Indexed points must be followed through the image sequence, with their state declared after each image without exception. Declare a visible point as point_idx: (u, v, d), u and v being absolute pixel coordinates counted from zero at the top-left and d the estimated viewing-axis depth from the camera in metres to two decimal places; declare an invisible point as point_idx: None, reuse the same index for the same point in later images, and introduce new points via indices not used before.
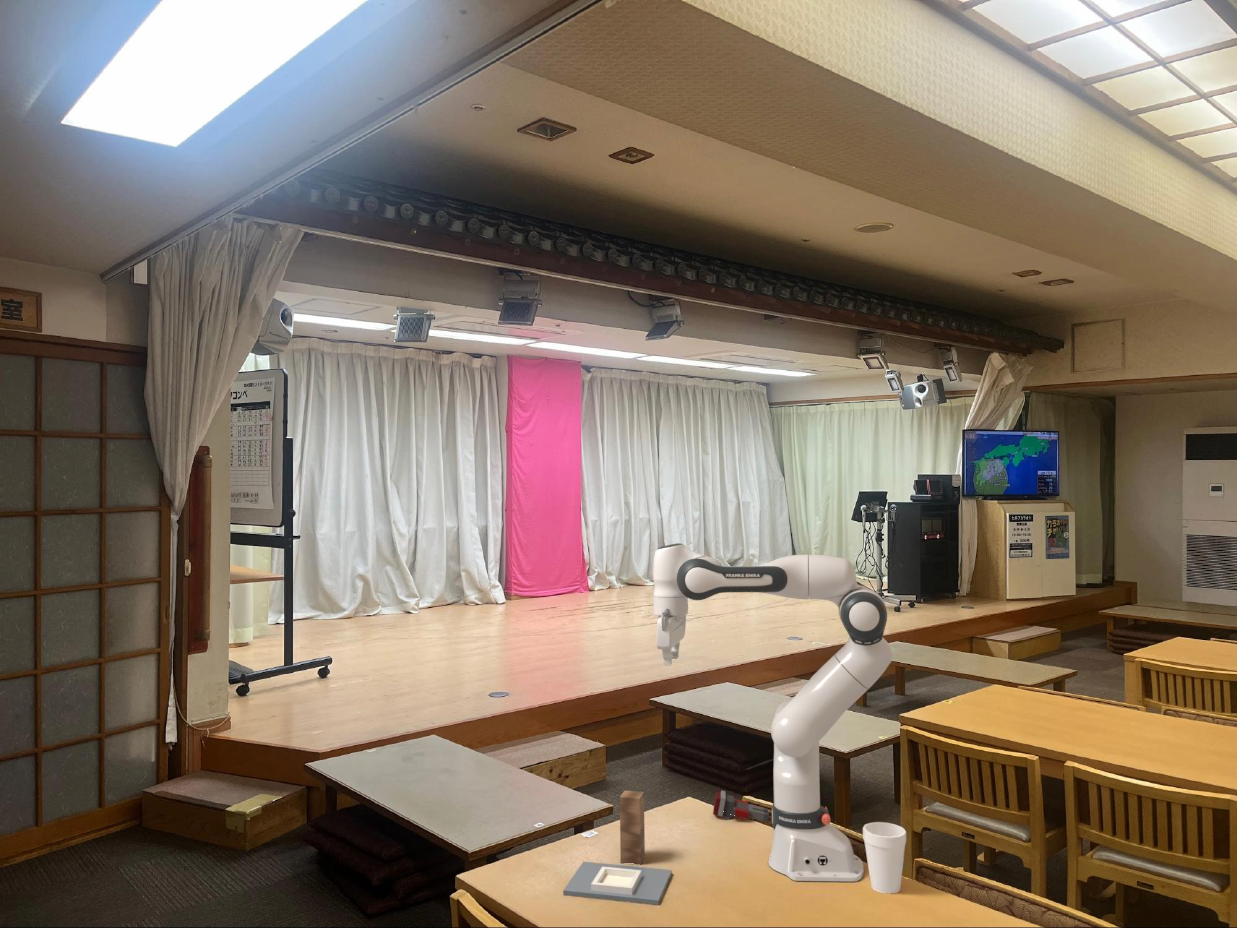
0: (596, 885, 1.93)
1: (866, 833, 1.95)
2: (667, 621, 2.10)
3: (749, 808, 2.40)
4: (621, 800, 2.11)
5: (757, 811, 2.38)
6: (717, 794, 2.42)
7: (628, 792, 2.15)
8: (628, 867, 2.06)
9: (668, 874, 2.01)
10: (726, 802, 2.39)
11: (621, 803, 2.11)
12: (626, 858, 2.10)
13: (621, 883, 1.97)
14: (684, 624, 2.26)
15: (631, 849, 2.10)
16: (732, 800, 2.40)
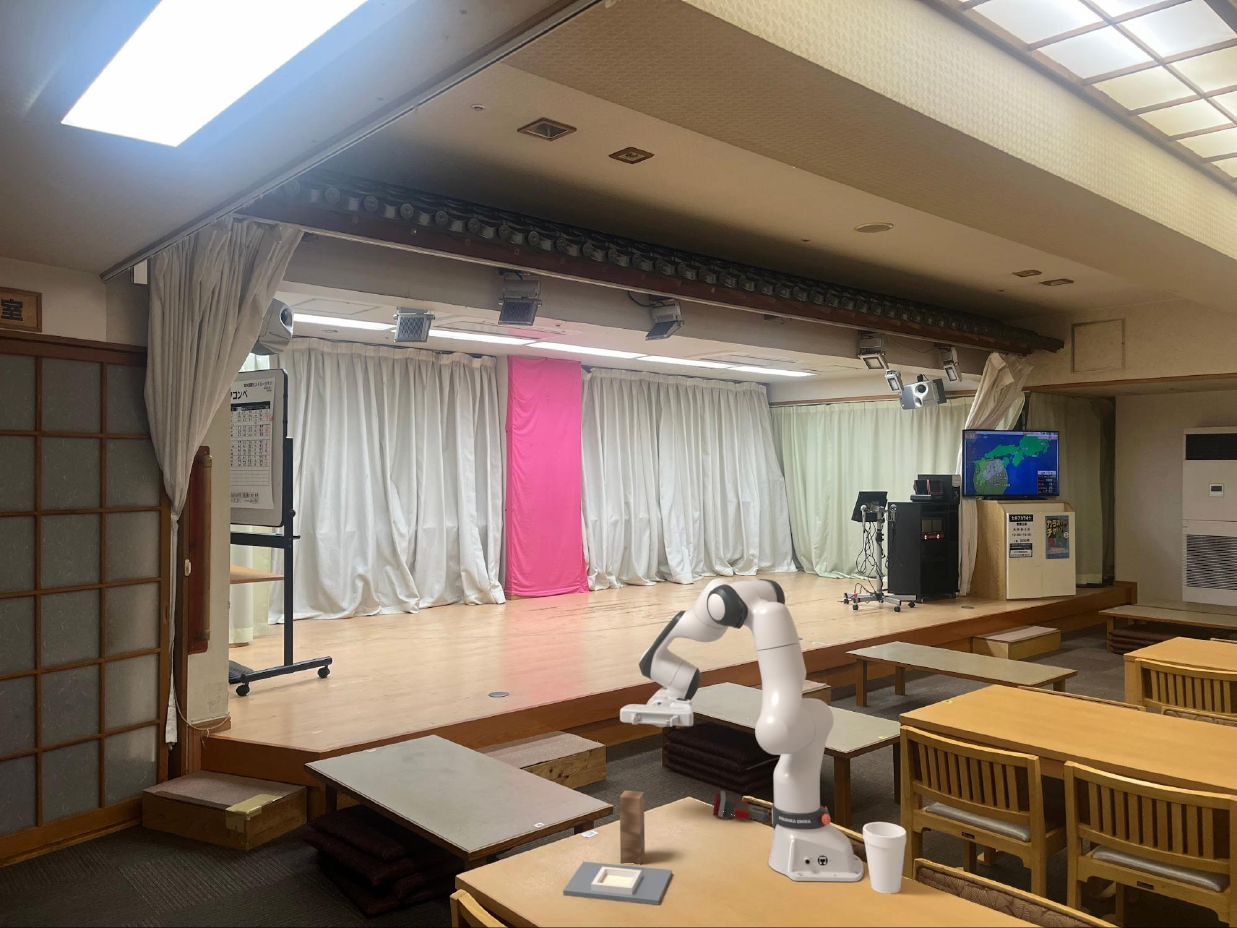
0: (596, 885, 1.93)
1: (866, 833, 1.95)
2: None
3: (749, 808, 2.40)
4: (621, 800, 2.11)
5: (757, 811, 2.38)
6: (717, 794, 2.42)
7: (628, 792, 2.15)
8: (628, 867, 2.06)
9: (668, 874, 2.01)
10: (727, 802, 2.38)
11: (621, 803, 2.11)
12: (626, 858, 2.10)
13: (621, 883, 1.97)
14: (688, 708, 2.34)
15: (631, 849, 2.10)
16: (732, 800, 2.40)
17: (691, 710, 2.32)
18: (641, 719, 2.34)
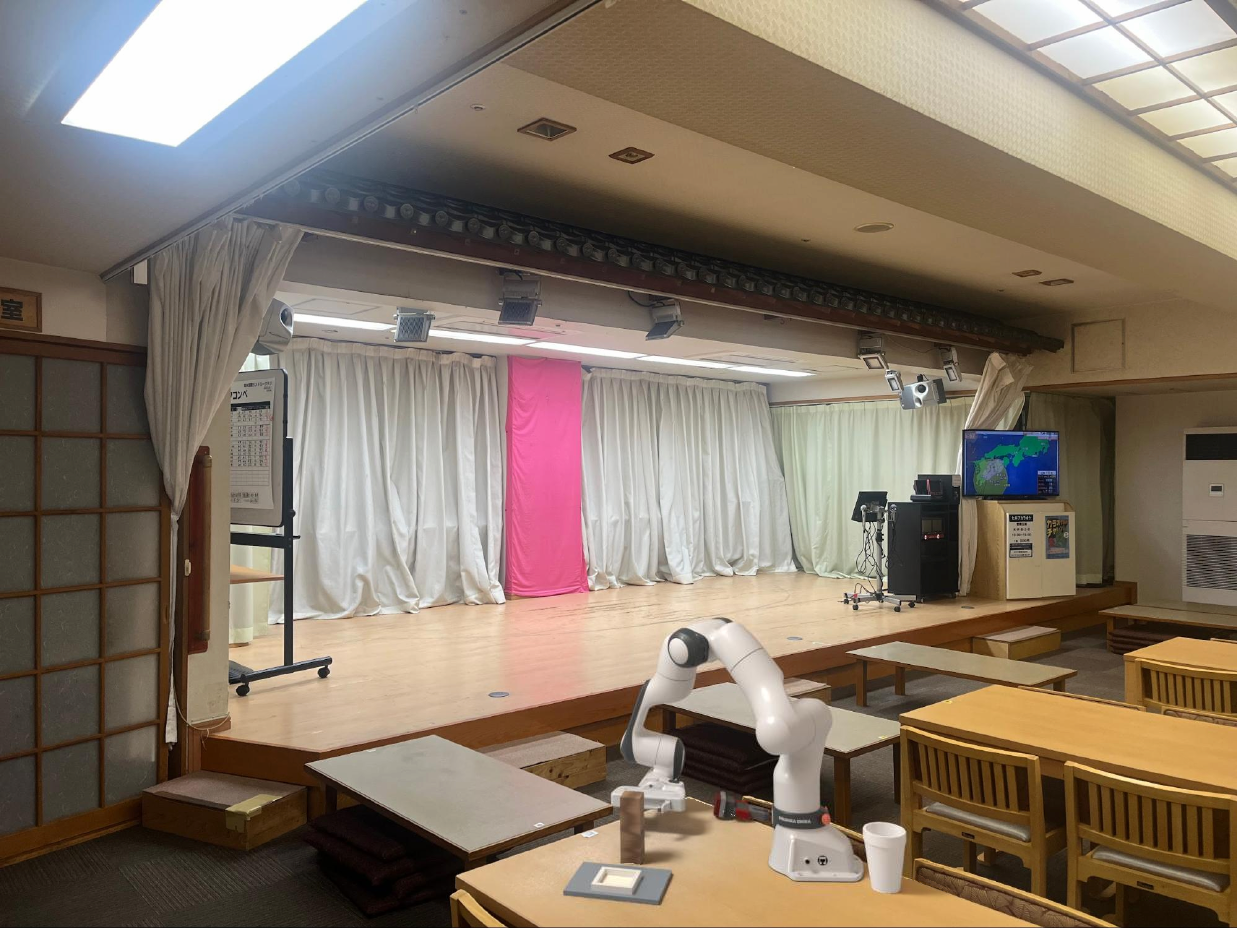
0: (596, 885, 1.93)
1: (866, 833, 1.95)
2: None
3: (749, 808, 2.40)
4: (621, 800, 2.11)
5: (758, 811, 2.38)
6: (717, 795, 2.42)
7: (628, 792, 2.15)
8: (628, 867, 2.06)
9: (668, 874, 2.01)
10: (727, 803, 2.38)
11: (621, 803, 2.11)
12: (626, 858, 2.10)
13: (621, 883, 1.97)
14: (680, 792, 2.30)
15: (631, 849, 2.10)
16: (732, 801, 2.39)
17: (683, 795, 2.28)
18: None
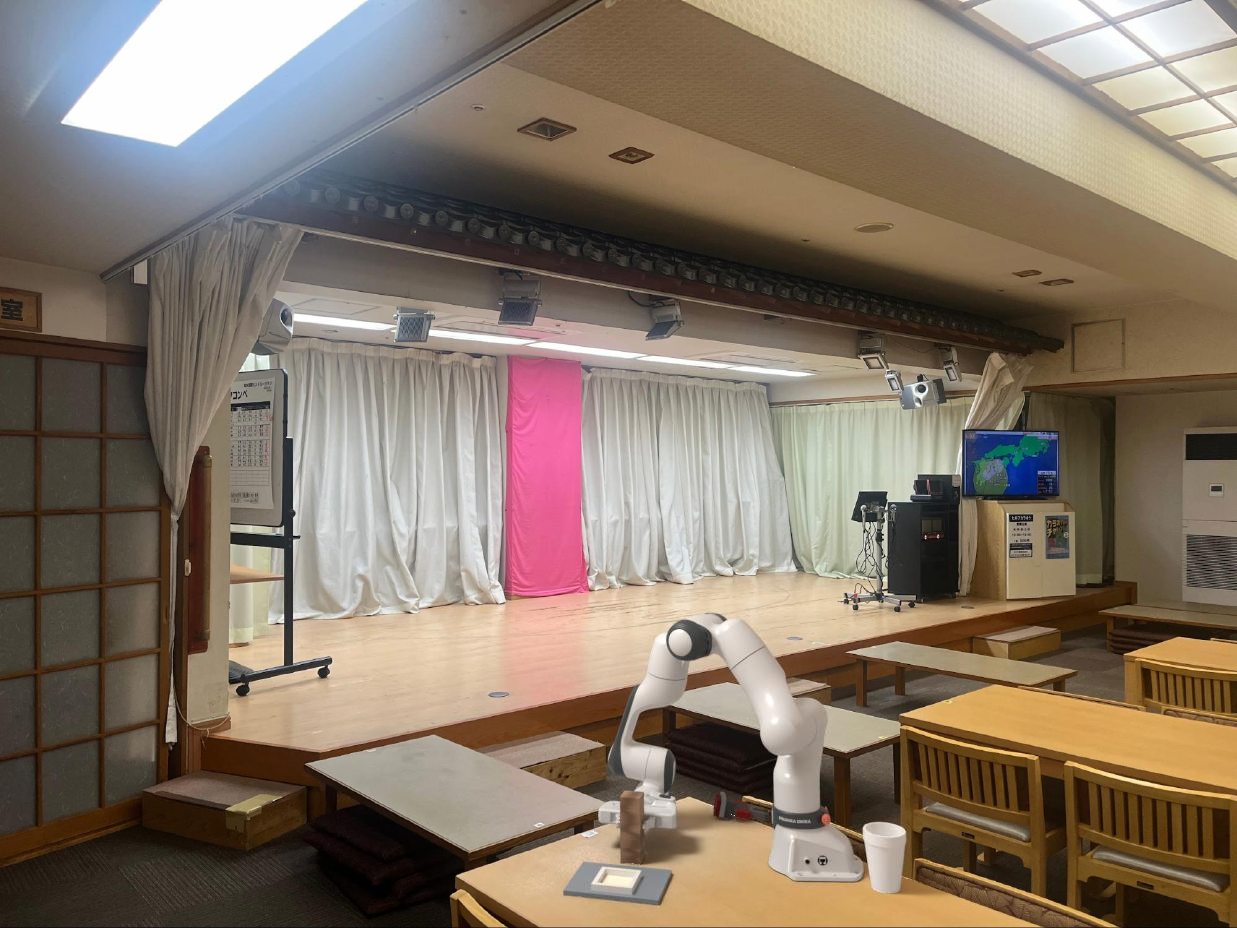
0: (596, 885, 1.93)
1: (866, 833, 1.95)
2: None
3: (749, 808, 2.40)
4: (621, 800, 2.11)
5: (758, 811, 2.38)
6: (717, 795, 2.42)
7: (628, 792, 2.15)
8: (628, 867, 2.06)
9: (668, 874, 2.01)
10: (727, 803, 2.38)
11: (621, 803, 2.11)
12: (626, 858, 2.10)
13: (621, 883, 1.97)
14: (671, 808, 2.18)
15: (631, 849, 2.10)
16: (733, 801, 2.39)
17: (674, 811, 2.16)
18: None
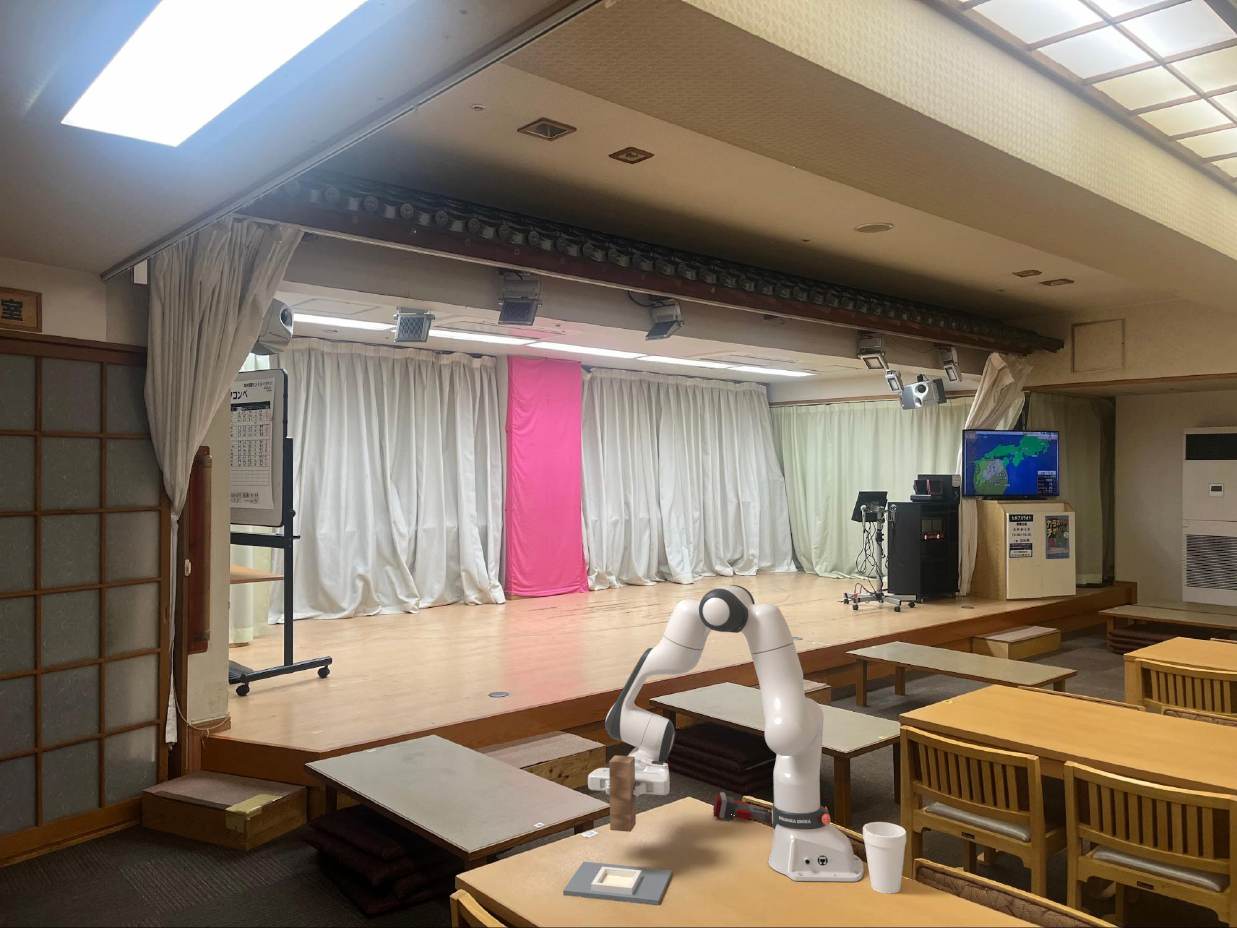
0: (596, 885, 1.93)
1: (866, 833, 1.95)
2: None
3: (749, 808, 2.39)
4: (610, 765, 2.03)
5: (758, 811, 2.38)
6: (717, 796, 2.41)
7: (618, 757, 2.06)
8: (628, 867, 2.06)
9: (668, 874, 2.01)
10: (728, 804, 2.38)
11: (610, 768, 2.03)
12: (616, 825, 2.02)
13: (621, 883, 1.97)
14: (663, 774, 2.10)
15: (621, 815, 2.02)
16: (733, 801, 2.39)
17: (667, 777, 2.08)
18: None
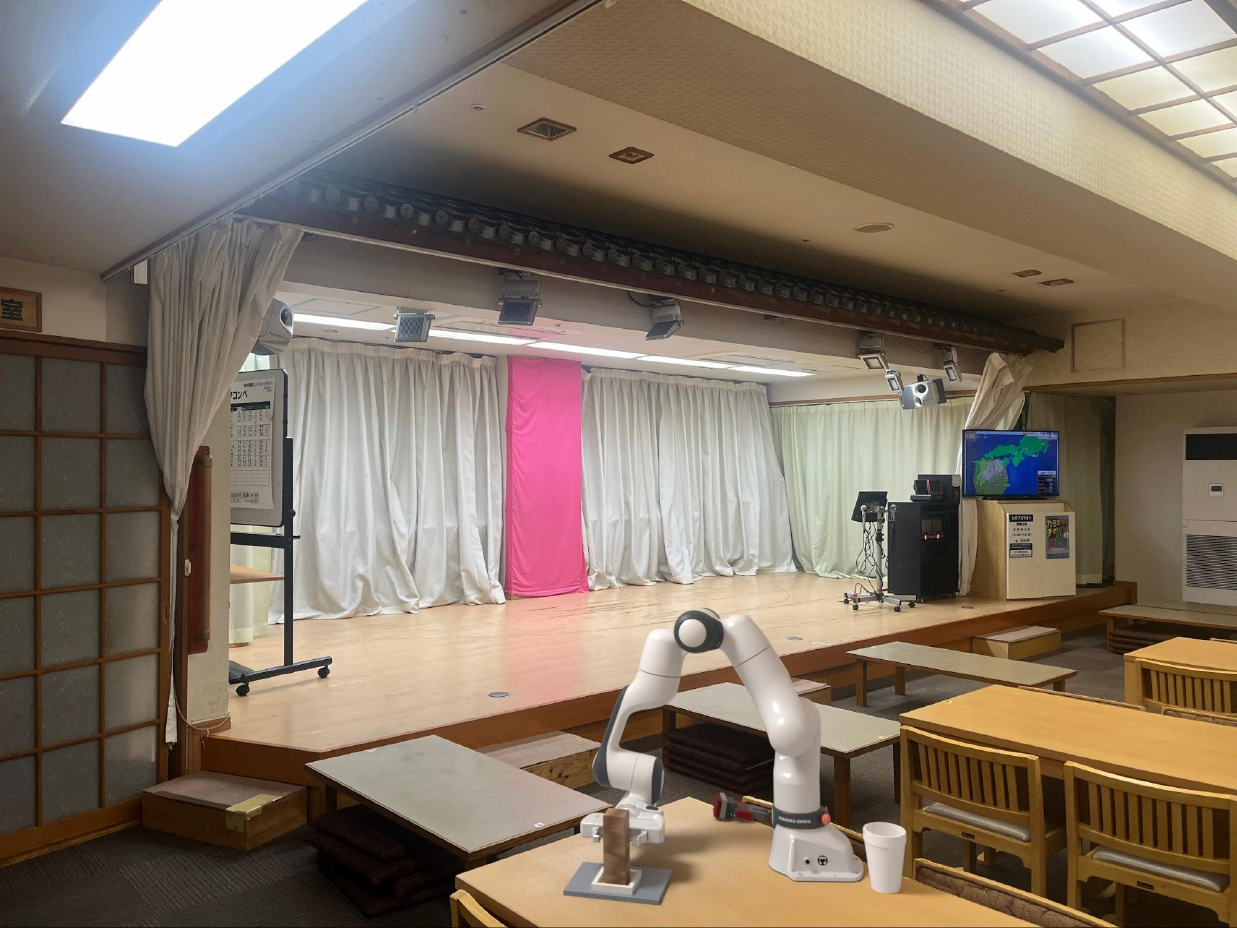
0: (596, 885, 1.93)
1: (866, 833, 1.95)
2: None
3: (749, 808, 2.39)
4: (604, 819, 1.96)
5: (758, 811, 2.38)
6: (717, 796, 2.41)
7: (612, 810, 1.99)
8: None
9: (668, 874, 2.01)
10: (728, 804, 2.37)
11: (604, 822, 1.96)
12: (610, 881, 1.95)
13: None
14: (658, 821, 2.03)
15: (615, 872, 1.95)
16: (733, 802, 2.39)
17: (662, 824, 2.01)
18: None
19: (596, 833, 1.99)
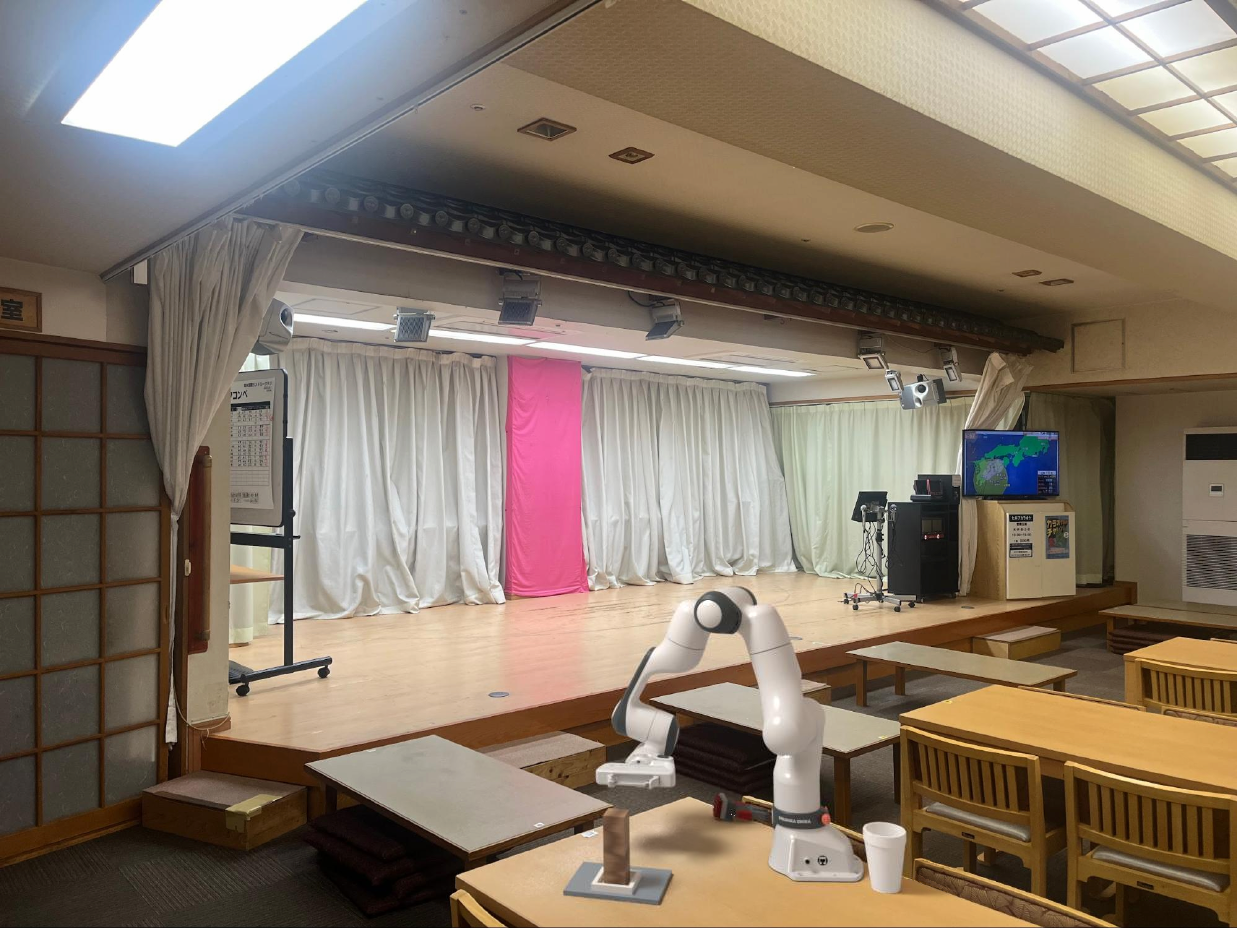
0: (596, 885, 1.93)
1: (866, 833, 1.95)
2: None
3: (749, 808, 2.39)
4: (604, 819, 1.96)
5: (758, 811, 2.38)
6: (717, 797, 2.40)
7: (612, 810, 1.99)
8: None
9: (668, 874, 2.01)
10: (728, 804, 2.37)
11: (604, 822, 1.96)
12: (610, 881, 1.95)
13: None
14: (669, 767, 2.15)
15: (615, 872, 1.95)
16: (733, 802, 2.38)
17: (672, 769, 2.14)
18: (619, 780, 2.15)
19: (611, 779, 2.12)
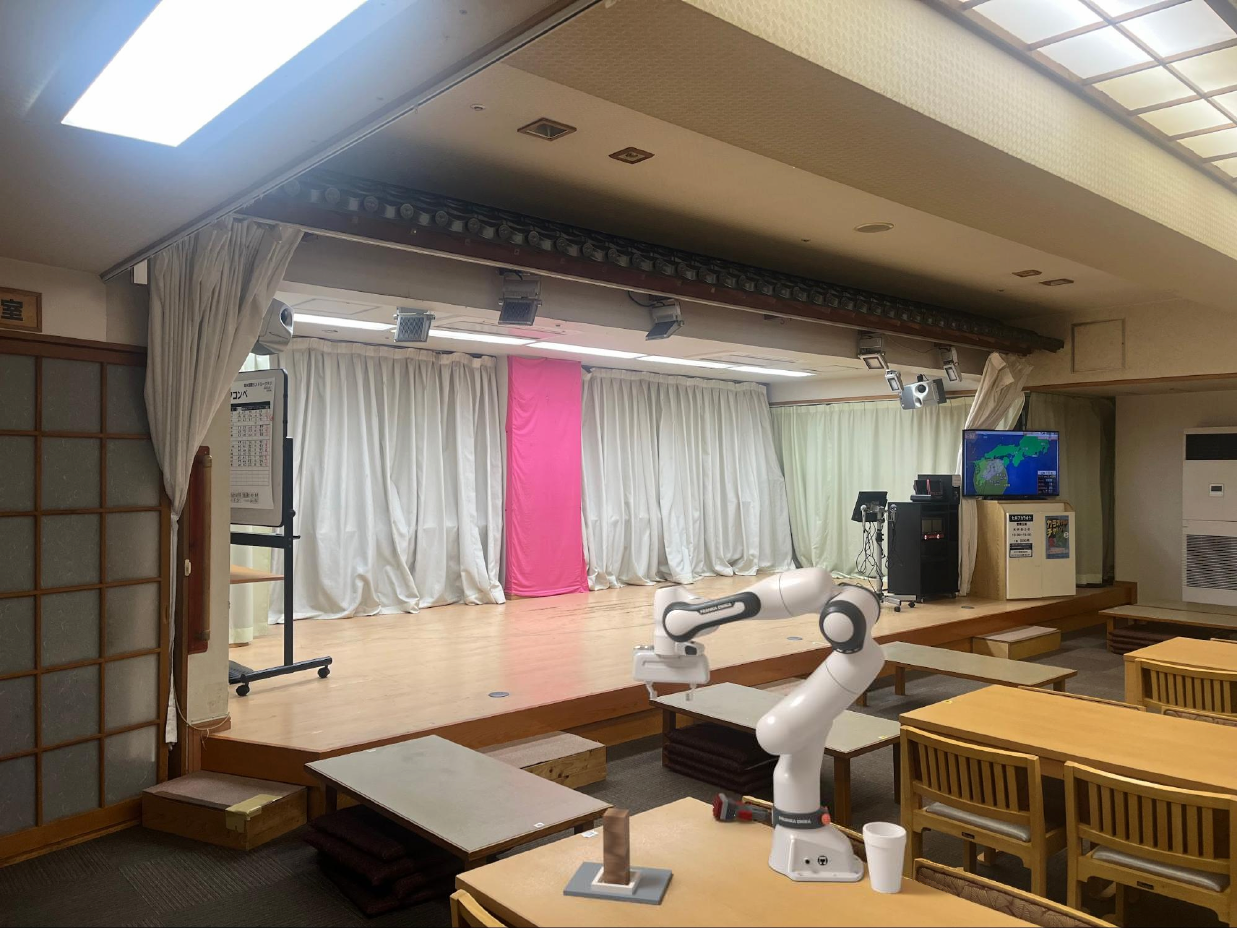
0: (596, 885, 1.93)
1: (866, 833, 1.95)
2: (636, 654, 2.26)
3: (749, 809, 2.39)
4: (604, 819, 1.96)
5: (758, 811, 2.38)
6: (717, 797, 2.40)
7: (612, 810, 1.99)
8: None
9: (668, 874, 2.01)
10: (729, 805, 2.37)
11: (604, 822, 1.96)
12: (610, 881, 1.95)
13: None
14: (702, 669, 2.20)
15: (615, 872, 1.95)
16: (733, 802, 2.38)
17: (706, 675, 2.20)
18: None
19: (652, 694, 2.24)
